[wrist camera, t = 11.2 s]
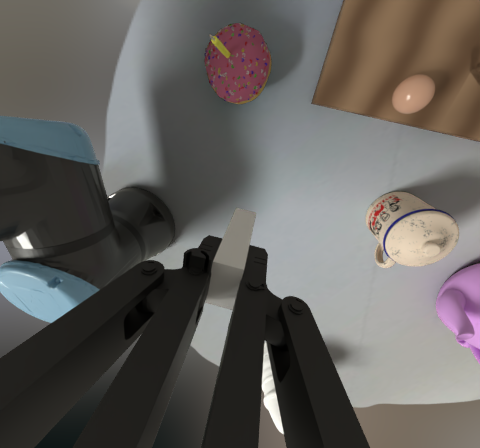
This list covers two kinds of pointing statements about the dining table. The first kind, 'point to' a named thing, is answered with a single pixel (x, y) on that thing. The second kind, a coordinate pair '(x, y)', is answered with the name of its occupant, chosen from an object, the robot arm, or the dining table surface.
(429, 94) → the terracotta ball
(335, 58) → the wooden board
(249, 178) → the dining table surface
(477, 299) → the teapot
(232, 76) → the cupcake
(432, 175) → the dining table surface
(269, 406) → the honey pot
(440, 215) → the teacup with lid
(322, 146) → the dining table surface
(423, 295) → the dining table surface
